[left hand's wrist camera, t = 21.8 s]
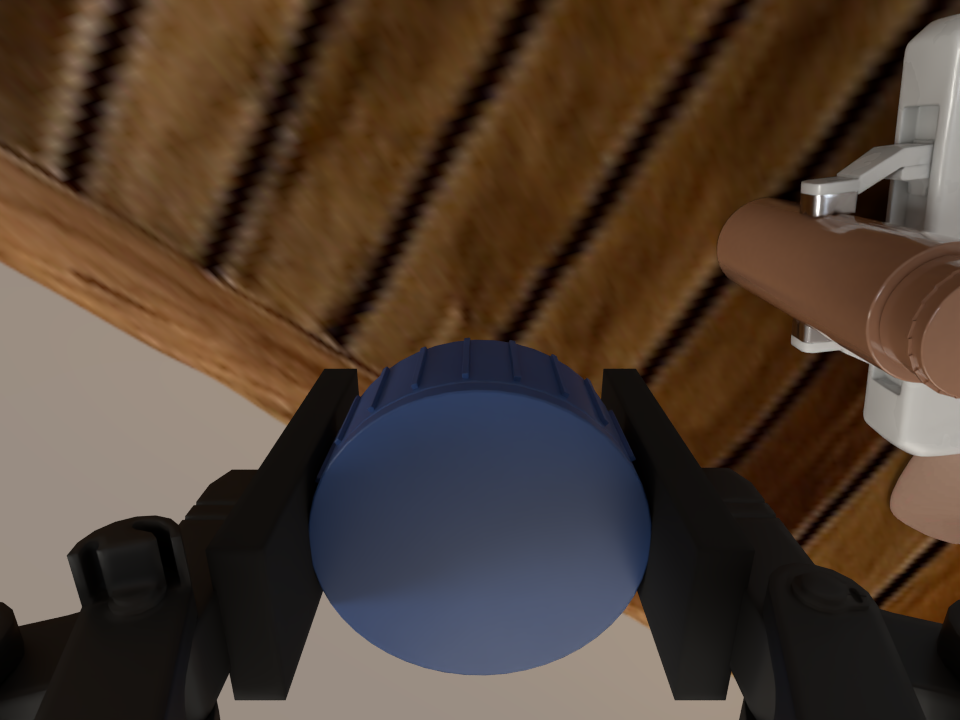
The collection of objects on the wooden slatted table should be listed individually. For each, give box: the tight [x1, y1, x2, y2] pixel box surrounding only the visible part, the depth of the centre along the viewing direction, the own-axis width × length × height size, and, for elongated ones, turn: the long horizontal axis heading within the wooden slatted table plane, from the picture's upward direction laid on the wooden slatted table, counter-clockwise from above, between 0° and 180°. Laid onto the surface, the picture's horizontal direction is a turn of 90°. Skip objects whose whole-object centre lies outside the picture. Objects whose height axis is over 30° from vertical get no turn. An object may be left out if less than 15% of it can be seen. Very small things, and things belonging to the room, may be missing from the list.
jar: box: [717, 198, 960, 399], centre depth 27 cm, size 5×5×17 cm
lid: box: [308, 338, 652, 675], centre depth 11 cm, size 6×6×2 cm
